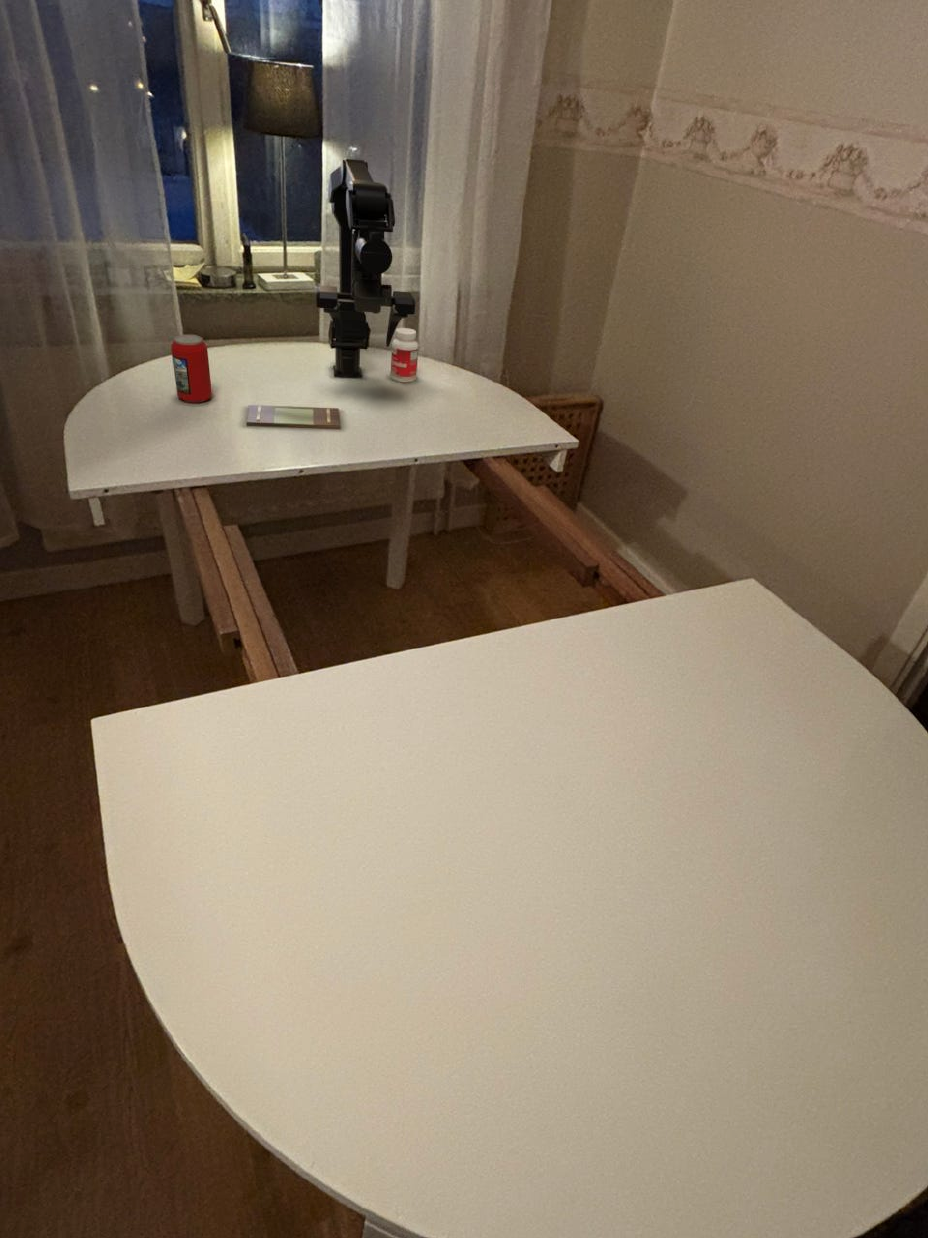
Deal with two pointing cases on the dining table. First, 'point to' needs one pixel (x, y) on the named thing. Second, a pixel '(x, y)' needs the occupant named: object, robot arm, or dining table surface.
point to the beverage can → (191, 368)
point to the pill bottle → (404, 356)
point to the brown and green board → (293, 417)
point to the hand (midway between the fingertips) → (364, 344)
